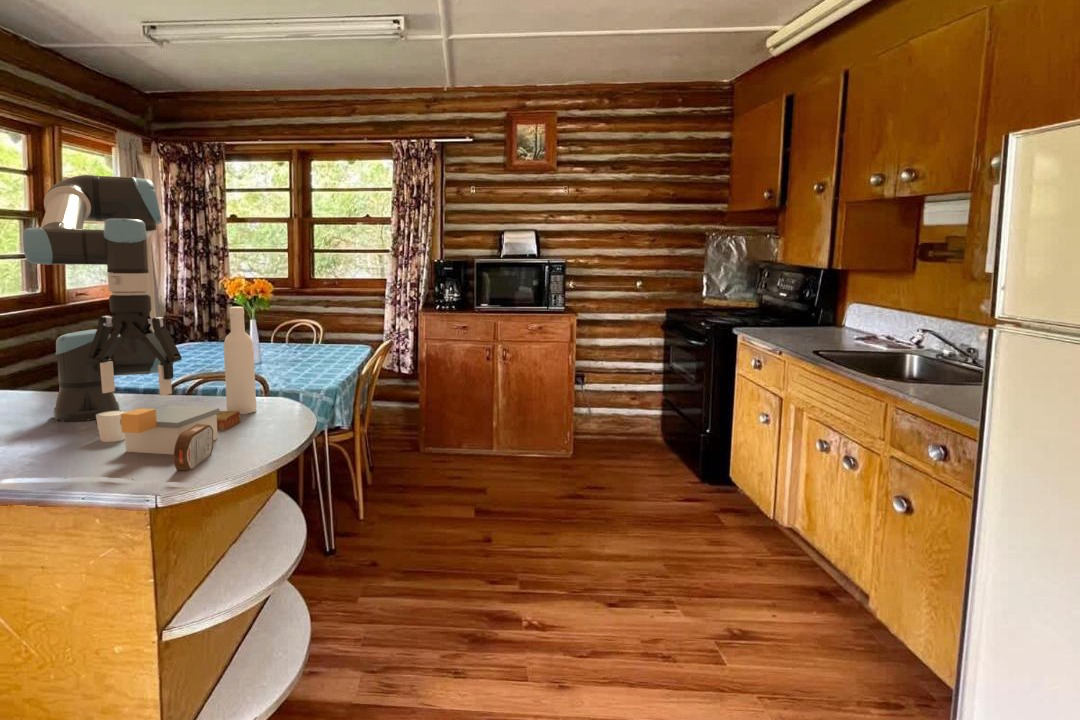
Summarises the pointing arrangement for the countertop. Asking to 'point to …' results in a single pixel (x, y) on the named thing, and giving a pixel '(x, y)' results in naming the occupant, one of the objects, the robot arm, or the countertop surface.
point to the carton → (227, 419)
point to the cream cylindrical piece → (110, 426)
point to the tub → (162, 438)
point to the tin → (193, 446)
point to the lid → (163, 417)
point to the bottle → (239, 366)
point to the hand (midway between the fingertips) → (137, 393)
